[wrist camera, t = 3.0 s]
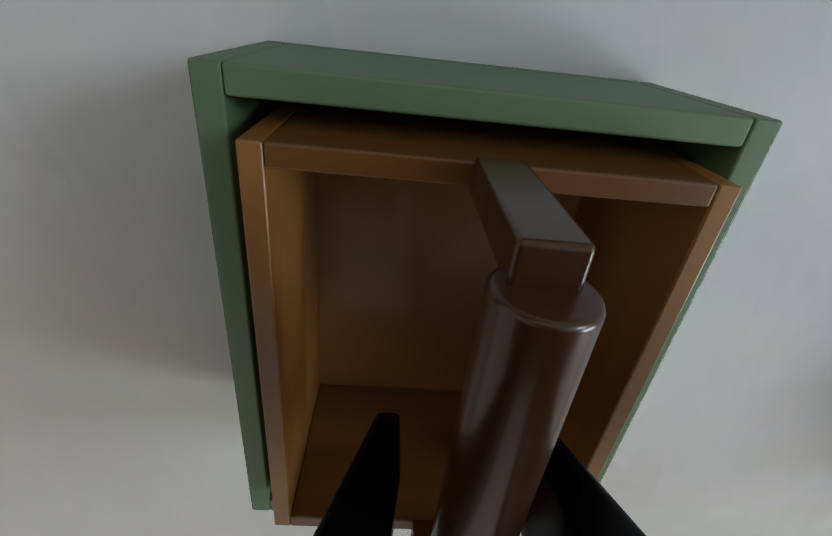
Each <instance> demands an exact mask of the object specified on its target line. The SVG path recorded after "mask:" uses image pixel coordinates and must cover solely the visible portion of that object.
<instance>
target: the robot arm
mask: <svg viewBox="0 0 832 536" xmlns="http://www.w3.org/2000/svg"><path fill="white" fill-rule="evenodd" d="M399 481H400V416H399V414H398V413H394V412H379V413H378V414H377V415H376V416H375V418H374V420H373V422H372V424H371V426H370V428H369V430H368V432H367V433H366V435H365V437H364V439H363V441H362V443H361V445H360V447H359V449H358V451H357V453H356V455H355V456H354V458H353V460H352V462H351V464H350V466H349V468H348V470H347V472H346V474H345V476H344V478H343V480H342V481H341V483H340V485H339V487H338V489H337V491H336V493H335V495H334V497H333V499H332V501H331V503H330V504H329V506H328V508H327V510H326V512H325V514H324V516H323V518H322V520H321V522H320V524H319V526H318V528H317V529H316V531H315V533H314V535H313V536H392V535H393V527H394V520H395V512H396V505H397V497H398V489H399ZM521 536H646V535H645V534H644V533H643V532H642V531H641V530H640V528H639V527H638V526H637V525H636V524H635V523H634V522H633V521H632V519H631V518H630V517H629V516H628V515H627V514H626V513H625V511H624V510H623V509H622V508H621V507H620V506H619V505H618V504H617V502H616V501H615V500H614V499H613V498H612V497H611V496H610V494H609V493H608V492H607V491H606V490H605V489H604V488H603V487H602V485H601V484H600V483H599V482H598V481H597V480H596V479H595V478H594V476H593V475H592V474H591V473H590V472H589V471H588V470H587V468H586V467H585V466H584V465H583V464H582V463H581V462H580V461H579V459H578V458H577V457H576V456H575V455H574V454H573V453H572V452H571V450H570V449H569V448H568V447H567V446H566V445H565V444H564V442H563V441H562V440H561V439H560V438H559V437H558V439H557V441H556V444H555V446H554V449H553V452H552V454H551V457H550V459H549V462H548V464H547V467H546V469H545V472H544V474H543V477H542V479H541V482H540V484H539V487H538V489H537V492H536V495H535V497H534V500H533V502H532V505H531V507H530V510H529V512H528V515H527V517H526V520H525V522H524V525H523V527H522V530H521Z"/></svg>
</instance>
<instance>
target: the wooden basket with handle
mask: <svg viewBox="0 0 832 536" xmlns="http://www.w3.org/2000/svg"><path fill="white" fill-rule="evenodd" d="M235 145H236V155H237V164H238V174H239V183H240V193H241V202H242V212H243V222H244V231H245V241H246V250H247V260H248V269H249V279H250V288H251V298H252V308H253V317H254V327H255V336H256V346H257V355H258V365H259V375H260V384H261V394H262V403H263V413H264V422H265V432H266V441H267V451H268V461H269V470H270V480H271V489H272V499H273V508H274V518H275V524H276V525H290V524H291V525H299V526H319V524H320V522H321V520H322V518H323V516H324V514H325V512H326V510H327V508H328V506H329V504H330V503H331V501H332V499H333V497H334V495H335V493H336V491H337V489H338V487H339V485H340V483H341V481H342V480H343V478H344V476H345V474H346V472H347V470H348V468H349V466H350V464H351V462H352V460H353V458H354V456H355V455H356V453H357V451H358V449H359V447H360V445H361V443H362V441H363V439H364V437H365V435H366V433H367V432H368V430H369V428H370V426H371V424H372V422H373V420H374V418H375V416H376V415H377V414H378V413H379V412H394V413H398V414H399V416H400V481H399V489H398V497H397V505H396V512H395V520H394V527H393V528H395V529H412V530H411V536H519V535H520V532H521V530H522V527H523V525H524V522H525V520H526V517H527V515H528V512H529V510H530V507H531V505H532V502H533V500H534V497H535V495H536V492H537V489H538V487H539V484H540V482H541V479H542V477H543V474H544V472H545V469H546V467H547V464H548V462H549V459H550V457H551V454H552V452H553V449H554V446H555V444H556V441H557V439H558V437H559V438H560V439H561V440H562V441H563V442H564V444H565V445H566V446H567V447H568V448H569V449H570V450H571V452H572V453H573V454H574V455H575V456H576V457H577V458H578V459H579V461H580V462H581V463H582V464H583V465H584V466H585V467H586V468H587V470H588V471H589V472H590V473H591V474H592V475H593V476H594V478H595V479H596V480H597V479H598V477H599V475H600V473H601V471H602V469H603V467H604V465H605V463H606V461H607V459H608V457H609V455H610V453H611V451H612V449H613V447H614V445H615V443H616V441H617V439H618V437H619V435H620V433H621V431H622V429H623V427H624V425H625V423H626V421H627V419H628V417H629V415H630V413H631V411H632V409H633V407H634V405H635V403H636V401H637V399H638V397H639V395H640V393H641V391H642V389H643V387H644V385H645V383H646V381H647V378H648V376H649V374H650V372H651V370H652V368H653V366H654V364H655V362H656V360H657V358H658V356H659V354H660V352H661V350H662V348H663V346H664V344H665V342H666V340H667V338H668V336H669V334H670V332H671V330H672V328H673V326H674V324H675V322H676V320H677V318H678V316H679V314H680V312H681V310H682V308H683V306H684V304H685V302H686V300H687V298H688V296H689V294H690V292H691V290H692V288H693V286H694V284H695V282H696V280H697V278H698V276H699V274H700V272H701V270H702V268H703V266H704V264H705V262H706V260H707V258H708V256H709V254H710V252H711V250H712V248H713V246H714V244H715V242H716V240H717V238H718V236H719V234H720V232H721V230H722V228H723V226H724V224H725V222H726V220H727V218H728V216H729V214H730V212H731V210H732V208H733V206H734V204H735V202H736V200H737V198H738V196H739V194H740V192H741V190H742V187H741V186H739V185H737V184H735V183H733V182H731V181H729V180H727V179H726V178H724V177H722V176H720V175H718V174H716V173H714V172H712V171H710V170H708V169H706V168H704V167H702V166H700V165H699V164H697V163H695V162H693V161H691V160H689V159H687V158H685V157H683V156H681V155H679V154H677V153H675V152H673V151H672V150H670V149H668V148H666V147H664V146H662V145H660V144H658V143H656V142H654V141H652V140H650V139H648V138H640V137H630V136H620V135H611V134H601V133H591V132H581V131H571V130H561V129H551V128H541V127H531V126H521V125H511V124H501V123H492V122H482V121H472V120H462V119H452V118H442V117H432V116H422V115H412V114H402V113H392V112H382V111H373V110H363V109H353V108H343V107H333V106H323V105H313V104H303V103H293V102H284V103H283V104H281V105H280V106H279V107H278V108H276V109H275V110H274V111H272V112H271V113H270V114H268V115H267V116H266V117H264V118H263V119H262V120H261V121H259V122H258V123H257V124H255V125H254V126H253V127H251V128H250V129H249V130H248V131H246V132H245V133H244V134H242V135H241V136H240V137H238V138H237V139H236V141H235Z"/></svg>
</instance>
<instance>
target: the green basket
mask: <svg viewBox="0 0 832 536" xmlns="http://www.w3.org/2000/svg"><path fill="white" fill-rule="evenodd" d="M188 68H189V75H190V82H191V89H192V95H193V102H194V109H195V116H196V123H197V130H198V137H199V144H200V150H201V157H202V164H203V171H204V178H205V185H206V192H207V199H208V205H209V212H210V219H211V226H212V233H213V240H214V247H215V254H216V260H217V267H218V274H219V281H220V288H221V295H222V302H223V309H224V316H225V322H226V329H227V336H228V343H229V350H230V357H231V364H232V371H233V377H234V384H235V391H236V398H237V405H238V412H239V419H240V426H241V432H242V439H243V446H244V453H245V460H246V467H247V474H248V481H249V487H250V494H251V501H252V508H253V509H254V510H270V508H271V510H274V508H273V499H272V489H271V480H270V470H269V461H268V451H267V441H266V432H265V422H264V413H263V403H262V394H261V384H260V375H259V365H258V355H257V346H256V336H255V327H254V317H253V308H252V298H251V288H250V279H249V269H248V260H247V250H246V241H245V231H244V222H243V212H242V202H241V193H240V183H239V174H238V164H237V155H236V145H235V141H236V139H237V138H238V137H240V136H241V135H242V134H244V133H245V132H246V131H248V130H249V129H250V128H251V127H253V126H254V125H255V124H257V123H258V122H259V121H261V120H262V119H263V118H264V117H266V116H267V115H268V114H270V113H271V112H272V111H274V110H275V109H276V108H278V107H279V106H280V105H281V104H283V103H284V102H293V103H303V104H313V105H323V106H333V107H343V108H353V109H363V110H373V111H382V112H392V113H402V114H412V115H422V116H432V117H442V118H452V119H462V120H472V121H482V122H492V123H501V124H511V125H521V126H531V127H541V128H551V129H561V130H571V131H581V132H591V133H601V134H611V135H620V136H630V137H640V138H648V139H650V140H652V141H654V142H656V143H658V144H660V145H662V146H664V147H666V148H668V149H670V150H672V151H673V152H675V153H677V154H679V155H681V156H683V157H685V158H687V159H689V160H691V161H693V162H695V163H697V164H699V165H700V166H702V167H704V168H706V169H708V170H710V171H712V172H714V173H716V174H718V175H720V176H722V177H724V178H726V179H727V180H729V181H731V182H733V183H735V184H737V185H739V186H741V187H742V190H741V192H740V194H739V196H738V198H737V200H736V202H735V204H734V206H733V208H732V210H731V212H730V214H729V216H728V218H727V220H726V222H725V224H724V226H723V228H722V230H721V232H720V234H719V236H718V238H717V240H716V242H715V244H714V246H713V248H712V250H711V252H710V254H709V256H708V258H707V260H706V262H705V264H704V266H703V268H702V270H701V272H700V274H699V276H698V278H697V280H696V282H695V284H694V286H693V288H692V290H691V292H690V294H689V296H688V298H687V300H686V302H685V304H684V306H683V308H682V310H681V312H680V314H679V316H678V318H677V320H676V322H675V324H674V326H673V328H672V330H671V332H670V334H669V336H668V338H667V340H666V342H665V344H664V346H663V348H662V350H661V352H660V354H659V356H658V358H657V360H656V362H655V364H654V366H653V368H652V370H651V372H650V374H649V376H648V378H647V381H646V383H645V385H644V387H643V389H642V391H641V393H640V395H639V397H638V399H637V401H636V403H635V405H634V407H633V409H632V411H631V413H630V415H629V417H628V419H627V421H626V423H625V425H624V427H623V429H622V431H621V433H620V435H619V437H618V439H617V441H616V443H615V445H614V447H613V449H612V451H611V453H610V455H609V457H608V459H607V461H606V463H605V465H604V467H603V469H602V471H601V473H600V475H599V477H598V479H597V481H598V482H599V483H600V482H601V480H602V478H603V476H604V474H605V472H606V470H607V468H608V466H609V464H610V462H611V460H612V458H613V456H614V454H615V452H616V450H617V448H618V447H619V445H620V443H621V441H622V439H623V437H624V435H625V433H626V431H627V429H628V427H629V425H630V423H631V421H632V419H633V417H634V415H635V413H636V411H637V409H638V407H639V405H640V403H641V401H642V399H643V397H644V395H645V393H646V391H647V389H648V387H649V385H650V383H651V381H652V379H653V378H654V376H655V374H656V372H657V370H658V368H659V366H660V364H661V362H662V360H663V358H664V356H665V354H666V352H667V350H668V348H669V346H670V344H671V342H672V340H673V338H674V336H675V334H676V332H677V330H678V328H679V326H680V324H681V322H682V320H683V318H684V316H685V314H686V312H687V310H688V308H689V307H690V305H691V303H692V301H693V299H694V297H695V295H696V293H697V291H698V289H699V287H700V285H701V283H702V281H703V279H704V277H705V275H706V273H707V271H708V269H709V267H710V265H711V263H712V261H713V259H714V257H715V255H716V253H717V251H718V249H719V247H720V245H721V243H722V241H723V239H724V237H725V236H726V234H727V232H728V230H729V228H730V226H731V224H732V222H733V220H734V218H735V216H736V214H737V212H738V210H739V208H740V206H741V204H742V202H743V200H744V198H745V196H746V194H747V192H748V190H749V188H750V186H751V184H752V182H753V180H754V178H755V176H756V174H757V172H758V170H759V168H760V167H761V165H762V163H763V161H764V159H765V157H766V155H767V153H768V151H769V149H770V147H771V145H772V143H773V141H774V139H775V137H776V135H777V133H778V131H779V129H780V127H781V125H782V121H780V120H777V119H774V118H770V117H767V116H763V115H760V114H756V113H753V112H749V111H746V110H743V109H739V108H736V107H732V106H729V105H725V104H722V103H718V102H715V101H711V100H708V99H704V98H701V97H698V96H694V95H691V94H687V93H684V92H680V91H677V90H673V89H670V88H666V87H663V86H660V85H656V84H653V83H646V82H637V81H628V80H619V79H610V78H601V77H592V76H583V75H574V74H565V73H556V72H547V71H538V70H529V69H520V68H511V67H502V66H493V65H484V64H475V63H466V62H457V61H447V60H438V59H429V58H420V57H411V56H402V55H393V54H384V53H375V52H366V51H357V50H348V49H339V48H330V47H321V46H312V45H303V44H294V43H285V42H276V41H264V42H260V43H255V44H250V45H246V46H241V47H237V48H232V49H228V50H223V51H218V52H214V53H209V54H205V55H200V56H195V57H191V58H188Z"/></svg>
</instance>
